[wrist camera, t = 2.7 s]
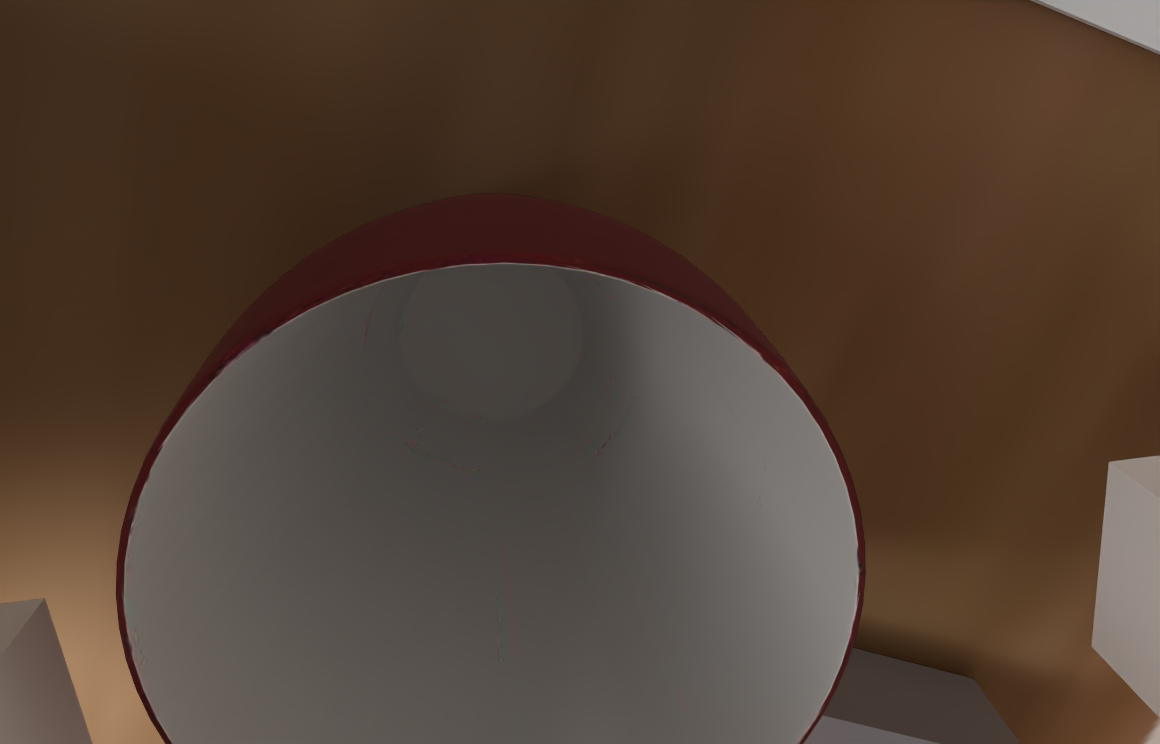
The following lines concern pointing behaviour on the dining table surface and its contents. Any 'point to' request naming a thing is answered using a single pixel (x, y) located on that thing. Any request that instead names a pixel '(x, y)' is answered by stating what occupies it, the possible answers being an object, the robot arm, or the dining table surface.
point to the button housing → (907, 707)
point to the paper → (1116, 18)
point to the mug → (491, 503)
